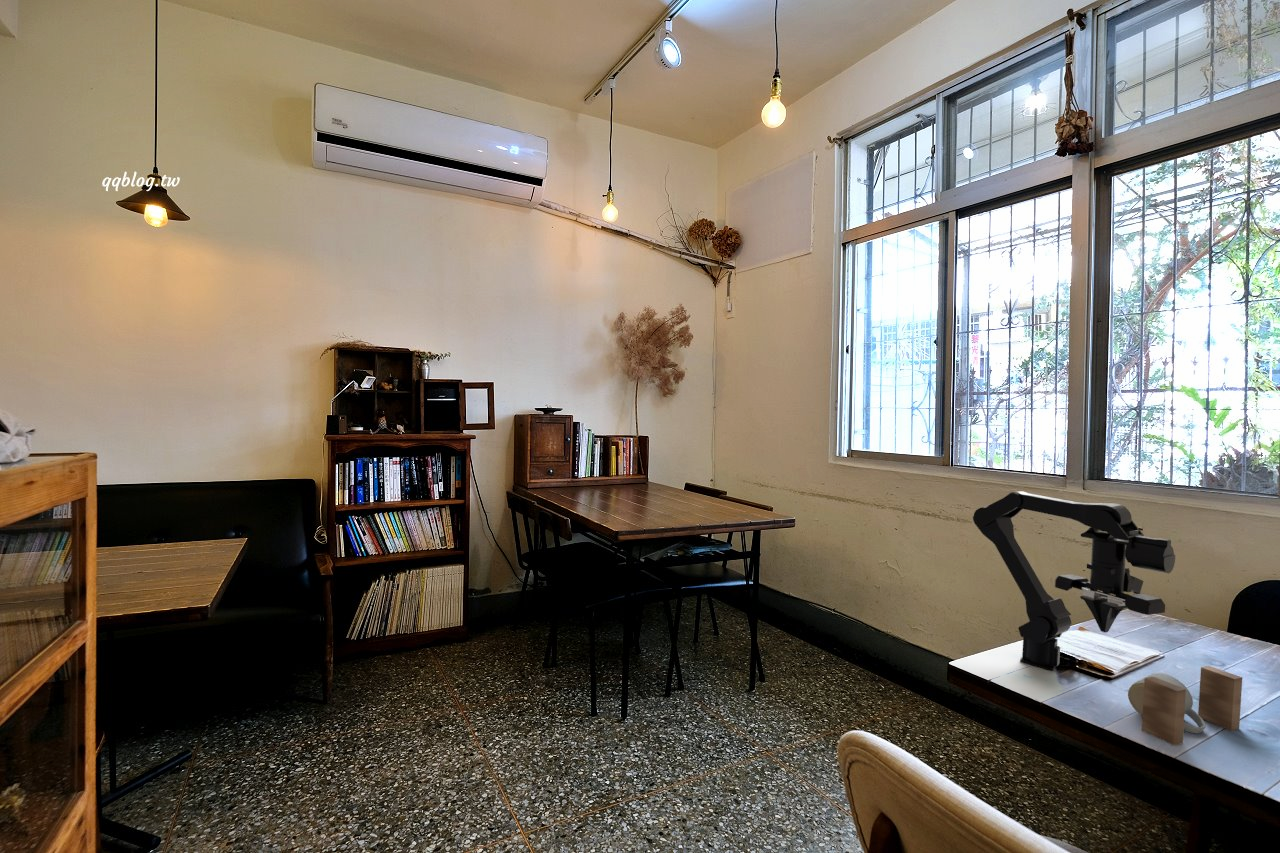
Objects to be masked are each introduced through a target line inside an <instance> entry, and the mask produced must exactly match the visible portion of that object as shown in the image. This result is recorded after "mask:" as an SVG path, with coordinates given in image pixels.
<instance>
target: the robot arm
mask: <svg viewBox="0 0 1280 853" xmlns="http://www.w3.org/2000/svg"><path fill="white" fill-rule="evenodd" d="M1023 510H1027V511H1032V512H1037V513H1041V514H1045V515H1049V516H1051V515H1052V516H1055V517H1061V518H1066V519H1069V520H1073V521H1076V522H1079V523H1080V524H1082V525H1084V526H1085V527H1089V528H1088V529H1087V530H1086V531H1083V532H1082V533H1081V534H1080V537H1082V538H1086V539H1091V555H1090V556H1091V557H1090V562H1089V563H1087V564H1086V569H1088V570H1090V573H1089V574H1090V576H1089V579H1088V578H1087V577H1084V576H1083V577H1082V576H1079V575H1076V574H1072V573H1071V574H1060V575H1059V574H1058V576H1056V578H1054V588H1056V589H1060V590H1063V591H1066V592H1068V591H1070V590H1073V588H1074V589H1077V590H1081V591H1082V595H1080V598H1079V599H1080V600H1083V601H1084V602H1085V604H1086V606H1087V607H1088V609H1089V611H1090V612H1091V614H1092V616H1093V618H1094V620H1095V622H1096V624H1097V627H1098V628H1099V630H1100V632H1102V633H1105V634H1106V633H1108V632H1109V631H1110V629H1111V627H1112V626H1113V624H1114V622H1115V620H1116V618H1117V617H1118V616H1119V614H1120V613H1121V612H1122V611H1123V610H1124V609H1128V611H1129V610H1130V611H1132V612H1134V613H1135V612H1136V613H1139V614H1142V615H1148V616H1149V615H1158V614H1165V613H1166V604H1165V602H1164V601H1163V599H1162V598H1161V597H1156V596H1153V595H1149V594H1145V593H1141V591H1142V587H1143V585H1144V582H1145V581H1144V580H1142V579H1140V578H1138V577H1136V576H1133V575H1131V574H1130V573H1131V570H1130V568H1129V567H1126V563H1129V564H1130V565H1131V566H1132V567H1135V568H1138V569H1139V568H1140V569H1144V570H1149V571H1153V572H1158V573H1163V574H1168V575H1169V574H1171V573H1172V571H1173V570H1174V567H1175V563H1176V554H1175V552H1174V547H1173V546H1172V540H1171V539H1167V538H1158V537H1157V538H1156V537H1149V536H1145V535H1144V533H1143V532H1142V531H1141V529H1140V528H1139V527H1138V526H1137V525H1136V523H1135V522H1134V521H1133V520H1132V519H1133V517H1132V514H1131V512H1130V510H1129V509H1128V508H1127V507H1126V506H1125V505H1122V504H1119V503H1114V502H1113V503H1112V502H1111V503H1109V502H1108V503H1107V502H1106V503H1105V502H1077V501H1072V500H1067V499H1061V498H1057V497H1056V498H1055V497H1051V496H1046V495H1045V496H1044V495H1040V494H1035V493H1029V492H1026V491H1022V490H1021V491H1019V490H1018V491H1012V492H1009V493H1008V494H1007V495H1006V496H1004V497H1002V498H1000V499H998V500H996V501H995V502H993V503H991V504H989V505H988V506H984V507H979V508H977V509H976V510H975V511H974V513H973V516H972V522H973V523H974V525H975V526H976V527H977V529H978V530H979V531H980V532H981V534H982V536H984V537H986V538H987V539H988V540H989V541H990V542H991V543H992V544H994V546H995V548H996V550H997V552H998V554H999V555H1000V557H1001V559H1002V561H1003V562H1004V564H1005V566H1006V567H1007V569H1008V571H1009V572H1010V576H1012V578H1013V580H1014V582H1015V583H1016V585H1017V587H1018V590H1019V591H1020V592H1021V594H1022V597H1023V598H1024V600H1025V610H1026V612H1025V613H1026V615H1027V618H1028V622H1026V623H1024V624H1022V625H1020V626H1019V627H1018V628H1017V629H1018V632H1019V634H1020V637H1022V652H1021V653H1022V654H1021V657H1020V659H1019V661H1020V662H1022V663H1025V664H1028V665H1031V666H1036V667H1038V668H1041V669H1045V670H1049V671H1054V669H1056V667H1058V666H1059V665H1060V658H1061V657H1060V656H1061V655H1060V654H1061V647H1060V646H1059V645H1058V640H1059V638H1060V637H1062V634H1063V633H1065V632H1067V631H1069V630H1070V628H1071V625H1072V620H1071V617H1070V616H1072V613H1071V612H1070V611H1069V610H1068V609H1067V608H1066V606H1065V603H1064V600H1063V599H1062V598H1061V597H1059V598H1056V599H1055V598H1053V597H1052V596H1051V595H1050V594H1048V593H1047V590H1046V589H1045V587H1044V586H1043V584H1042V583H1041V581H1040V579H1039V577H1038V575H1037V574H1036V572H1035V570H1034V569H1033V567H1032V565H1031V563H1030V562H1029V561H1028V558H1027V557H1026V555H1025V553H1024V552H1023V550H1022V548H1021V547H1020V544H1019V543H1018V541H1017V540H1016V538H1015V529H1014V523H1013V520H1012V518H1014V517H1015V516H1017V515H1018V514H1019V513H1020V512H1021V511H1023ZM1129 593H1133V594H1129Z"/></svg>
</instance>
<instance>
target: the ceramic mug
mask: <svg viewBox="0 0 1280 853" xmlns="http://www.w3.org/2000/svg"><path fill="white" fill-rule="evenodd" d="M1148 677H1156V678H1158V679H1161V680H1164V681H1166V682H1169V683H1171V684H1174V685H1176V686H1179V687H1182V688H1184V689H1186V697H1185V714H1184V715H1187V716H1188V717H1189V718H1190V719H1191V720H1193V721H1194V723H1196V726H1193V725H1191V724H1189V723H1188V722H1186V721H1184V731H1185V732H1188V733H1193V734H1196V735H1197V734H1201V733H1202V732H1203V731H1204V730H1205V729H1206V723H1205V721H1204V719H1202V718H1201V717H1200V716H1199V715H1198V712H1196V711H1195V710H1194V709H1192V708H1193V705H1194V700H1193V699H1194V698H1193V696H1192V694H1191V692H1190V690H1189V688H1187V686H1186V685H1185V684H1184V683H1183V682H1182V681H1180V680H1179V679H1177V678H1176V677H1174V676H1172V675H1170V674H1168V673H1162V672H1154V673H1151V674H1149V675H1147V676H1145V677H1143V678H1141V679H1139V680H1137V681H1135V682H1134V683H1133V684H1131V685H1130V686H1129V689H1128V691H1127V697H1128V701H1129V704H1130V705H1131V706H1132V708H1133V709H1134V711H1136V712H1137V713H1138V714H1140V715H1141V716H1142V714H1143V696H1144V679H1145V678H1148Z"/></svg>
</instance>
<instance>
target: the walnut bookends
mask: <svg viewBox="0 0 1280 853" xmlns="http://www.w3.org/2000/svg"><path fill="white" fill-rule="evenodd" d="M1144 678H1145V677H1144ZM1242 689H1243V677H1242V676H1240V675H1237V674H1234V673H1231V672H1229V671H1226V670H1222V669H1219V668H1216V667H1213V666H1211V665H1206V666H1201V667H1200V679H1199V693H1198V708H1197V709H1198V712H1197V714H1198V715H1199V716H1200V717H1201V718H1202V720H1203V721H1204V720H1205V721H1207V722H1210V723H1212V724H1214V725H1217V726H1219V727H1221V728H1223V729H1226V730H1227V731H1228V730H1229V731H1231V732H1232V731H1236V730H1239V729H1240V721H1241V708H1242V707H1241V703H1242ZM1185 697H1186V689H1184V688H1182V687H1179V686H1176V685H1174V684H1171V683H1169V682H1166V681H1164V680H1161V679H1158V678H1156V677H1148V678H1145V679H1144V696H1143V714H1142V715H1141V717H1142V718H1141V719H1142V720H1141V731H1142V732H1144V733H1146V734H1148V735H1151V736H1153V737H1155V738H1157V739H1159V740H1162V741H1163V742H1165V743H1168V744H1170V745H1171V746H1178V745H1181V744H1183V743H1184V731H1185V730H1184V722H1185V715H1186V714H1185Z"/></svg>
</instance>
